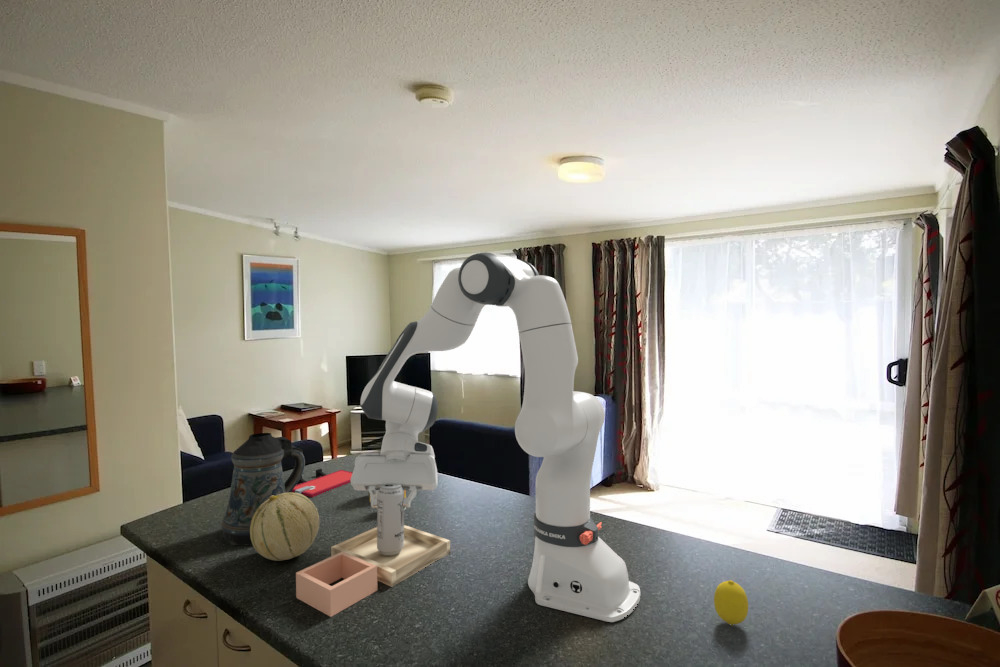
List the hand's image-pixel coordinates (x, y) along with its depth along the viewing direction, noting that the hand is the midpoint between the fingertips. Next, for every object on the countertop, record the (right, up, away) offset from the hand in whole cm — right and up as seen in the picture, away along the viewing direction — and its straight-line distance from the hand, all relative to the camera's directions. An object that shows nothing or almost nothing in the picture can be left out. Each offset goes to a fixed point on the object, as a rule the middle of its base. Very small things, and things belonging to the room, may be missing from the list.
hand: (390, 506), depth 115 cm
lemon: (+66, -13, -25) cm, 72 cm away
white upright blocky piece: (-11, -11, +39) cm, 42 cm away
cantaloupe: (-24, -12, +1) cm, 27 cm away
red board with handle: (-35, -11, +49) cm, 62 cm away
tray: (0, -12, +1) cm, 12 cm away
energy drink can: (0, -10, +1) cm, 10 cm away
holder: (-7, -12, -14) cm, 21 cm away
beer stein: (-37, -12, +16) cm, 42 cm away
